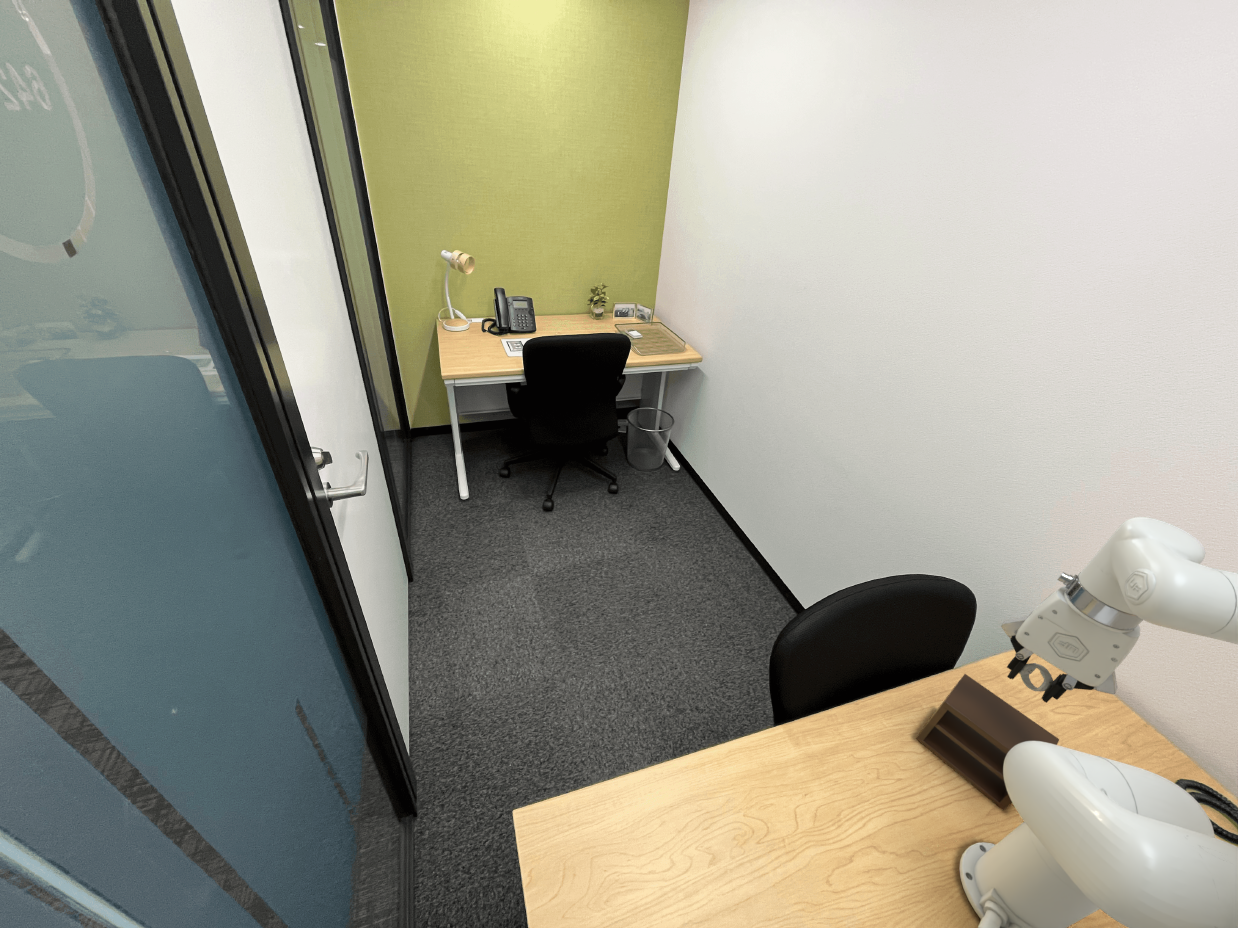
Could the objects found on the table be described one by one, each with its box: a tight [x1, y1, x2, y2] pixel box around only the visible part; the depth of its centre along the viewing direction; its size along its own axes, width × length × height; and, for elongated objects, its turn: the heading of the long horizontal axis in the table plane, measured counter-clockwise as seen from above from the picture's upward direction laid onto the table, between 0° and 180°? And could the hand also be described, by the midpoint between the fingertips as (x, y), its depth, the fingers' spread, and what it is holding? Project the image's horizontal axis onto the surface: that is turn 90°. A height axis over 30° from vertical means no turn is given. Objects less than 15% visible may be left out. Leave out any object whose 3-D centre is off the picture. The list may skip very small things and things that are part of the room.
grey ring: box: [1018, 662, 1054, 693], centre depth 74 cm, size 4×2×4 cm, turn 9°
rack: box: [915, 673, 1060, 811], centre depth 83 cm, size 9×14×12 cm, turn 39°
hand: (1029, 683), depth 75 cm, fingers closed on grey ring, 3 cm apart
